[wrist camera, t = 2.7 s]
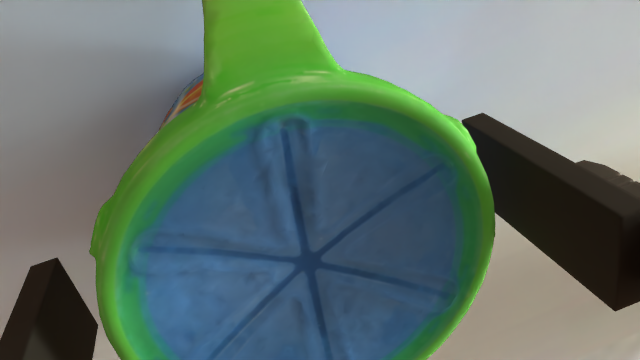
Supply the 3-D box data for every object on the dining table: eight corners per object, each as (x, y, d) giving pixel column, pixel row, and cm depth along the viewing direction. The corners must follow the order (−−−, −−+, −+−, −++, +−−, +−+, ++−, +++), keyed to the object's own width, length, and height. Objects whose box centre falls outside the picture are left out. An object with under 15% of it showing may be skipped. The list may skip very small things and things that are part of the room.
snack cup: (372, 265, 26) (474, 431, 18) (164, 308, 24) (161, 523, 15) (371, -68, 19) (540, -70, 11) (78, -51, 17) (-19, -36, 8)
